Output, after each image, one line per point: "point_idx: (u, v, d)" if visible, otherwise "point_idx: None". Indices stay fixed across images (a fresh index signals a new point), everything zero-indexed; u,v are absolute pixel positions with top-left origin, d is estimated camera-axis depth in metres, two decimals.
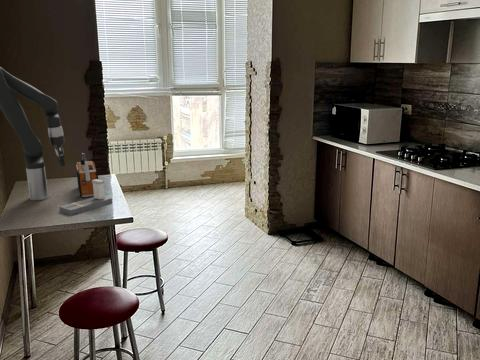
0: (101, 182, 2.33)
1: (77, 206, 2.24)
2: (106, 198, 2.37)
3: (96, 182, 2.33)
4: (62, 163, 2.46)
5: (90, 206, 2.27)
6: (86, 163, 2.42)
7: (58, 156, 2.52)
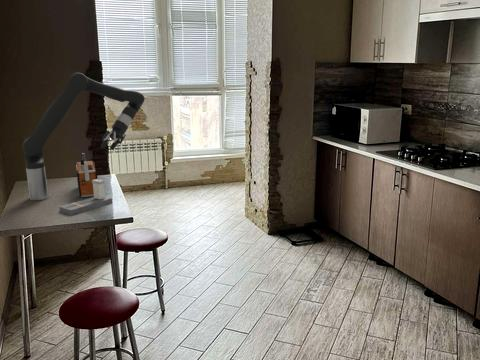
0: (101, 182, 2.33)
1: (77, 206, 2.24)
2: (106, 198, 2.37)
3: (96, 182, 2.33)
4: None
5: (90, 206, 2.27)
6: (85, 163, 2.42)
7: (105, 141, 2.44)
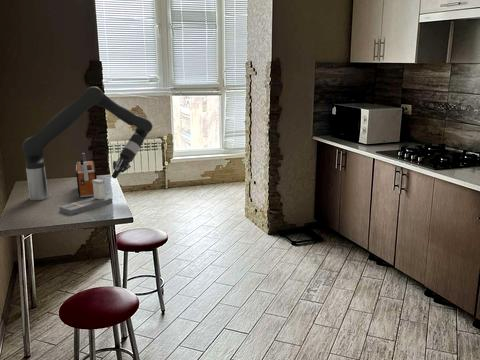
0: (101, 182, 2.33)
1: (77, 206, 2.24)
2: (106, 198, 2.37)
3: (96, 182, 2.33)
4: None
5: (90, 206, 2.27)
6: (84, 163, 2.42)
7: None
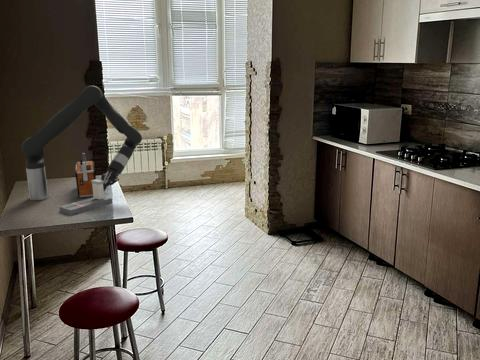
0: (100, 182, 2.32)
1: (77, 206, 2.24)
2: (106, 198, 2.37)
3: (95, 182, 2.33)
4: (103, 188, 2.37)
5: (90, 206, 2.27)
6: (84, 163, 2.42)
7: (104, 184, 2.38)
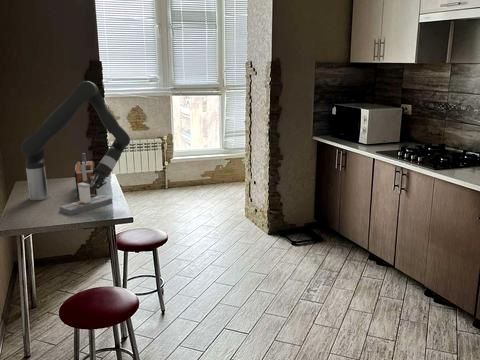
0: (87, 186, 2.26)
1: (77, 206, 2.24)
2: (106, 198, 2.37)
3: (82, 186, 2.26)
4: (90, 192, 2.31)
5: (90, 206, 2.27)
6: (83, 163, 2.42)
7: None
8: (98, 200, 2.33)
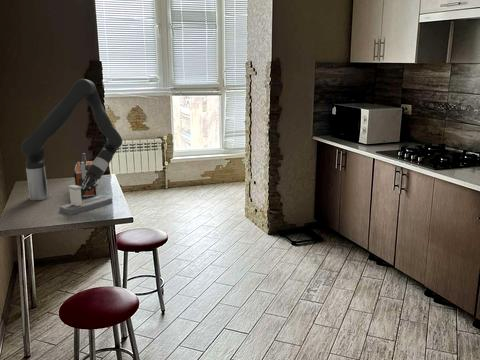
0: (78, 188, 2.22)
1: (77, 206, 2.24)
2: (106, 198, 2.37)
3: (72, 188, 2.22)
4: None
5: (90, 206, 2.27)
6: (82, 163, 2.42)
7: (82, 189, 2.28)
8: (98, 200, 2.33)
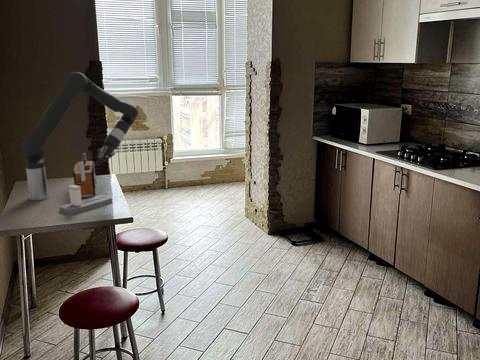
0: (78, 188, 2.22)
1: (77, 206, 2.24)
2: (106, 198, 2.37)
3: (72, 188, 2.22)
4: None
5: (90, 206, 2.27)
6: (81, 163, 2.41)
7: None
8: (98, 200, 2.33)
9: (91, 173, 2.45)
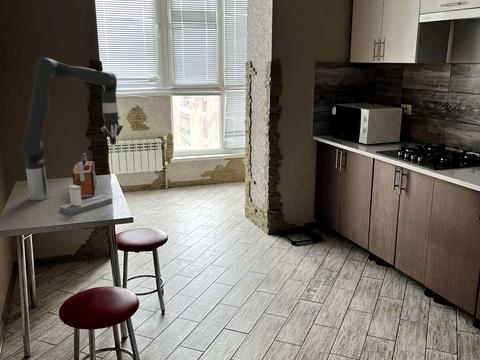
0: (78, 188, 2.22)
1: (77, 206, 2.24)
2: (106, 198, 2.37)
3: (72, 188, 2.22)
4: None
5: (90, 206, 2.27)
6: (80, 163, 2.41)
7: None
8: (98, 200, 2.33)
9: (90, 173, 2.44)
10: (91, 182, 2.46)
